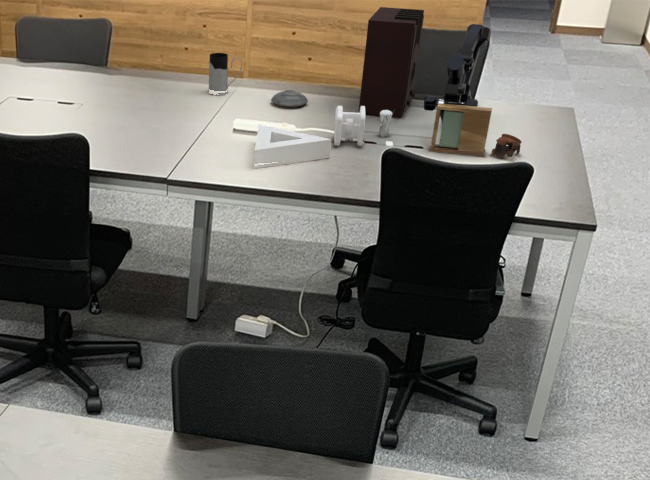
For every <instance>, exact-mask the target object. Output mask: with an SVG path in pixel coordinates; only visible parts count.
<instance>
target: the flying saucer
mask: <svg viewBox="0 0 650 480" xmlns="http://www.w3.org/2000/svg"><path fill="white" fill-rule="evenodd" d="M270 101H271V103H272V104H274V105H277V106H280V107H287V108H293V107H294V108H295V107H301V106H304V105H306V104H308V102H309V100H308V98H307V97H306V95H304V94H303V93H301V92H299V91H297V90H296V91H295V90H293V89H286V90H283V91H280V92H279V91H278V92H277V93H276V94H274V95H272V97H271V99H270Z"/></svg>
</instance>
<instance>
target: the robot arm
mask: <svg viewBox="0 0 650 480" xmlns="http://www.w3.org/2000/svg"><path fill="white" fill-rule="evenodd" d="M464 37H465V39H464V40H463V43H462V45H461V47H460V48H458V49H456V50H455V52H454V53H453V55H451V57H449V58H448V60H447V61H446V67H447V69H446V70H447V76H448V77H447V78H448V79H447V83H446V84H445V87H444V88H445V89H444V92H443V97H442V98H443V99H441V98H439V99H438V100H437V95H428V94H427V95H425V97H424V99H423V110H424V111H428V112H433V111H434V110H436V108H437V106H438V104H439V103H442V104H453V105H464V106H475V107H479V101H478V99H473V98H472V92H471V86H470V85H471V82H472V79H473V76H474V72H475V69H476V66H477V62H478V59H479V56H480V53H481V52H482V51H484V50H485V48H486V47H487V44H488V42H490V40H491V37H492V30H491V29H490V27H488V26H484V25H483V24H477V23H471V24H469V25H468V26H467V27H466V33H465V36H464ZM444 111H445V110H441V112H440V121H441V123H442V122H443V116H444ZM451 111H452V110H451ZM459 112H463V111H459Z"/></svg>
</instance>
